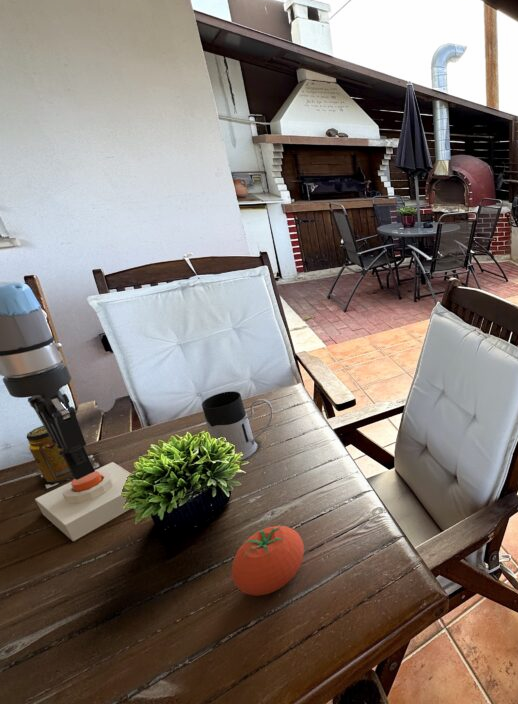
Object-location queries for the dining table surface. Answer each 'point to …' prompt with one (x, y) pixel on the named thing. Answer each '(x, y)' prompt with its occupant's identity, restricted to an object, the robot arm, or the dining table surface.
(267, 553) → the tomato
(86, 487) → the button
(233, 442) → the glass holder
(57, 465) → the condiment
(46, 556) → the dining table surface
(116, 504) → the white button box
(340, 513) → the dining table surface
